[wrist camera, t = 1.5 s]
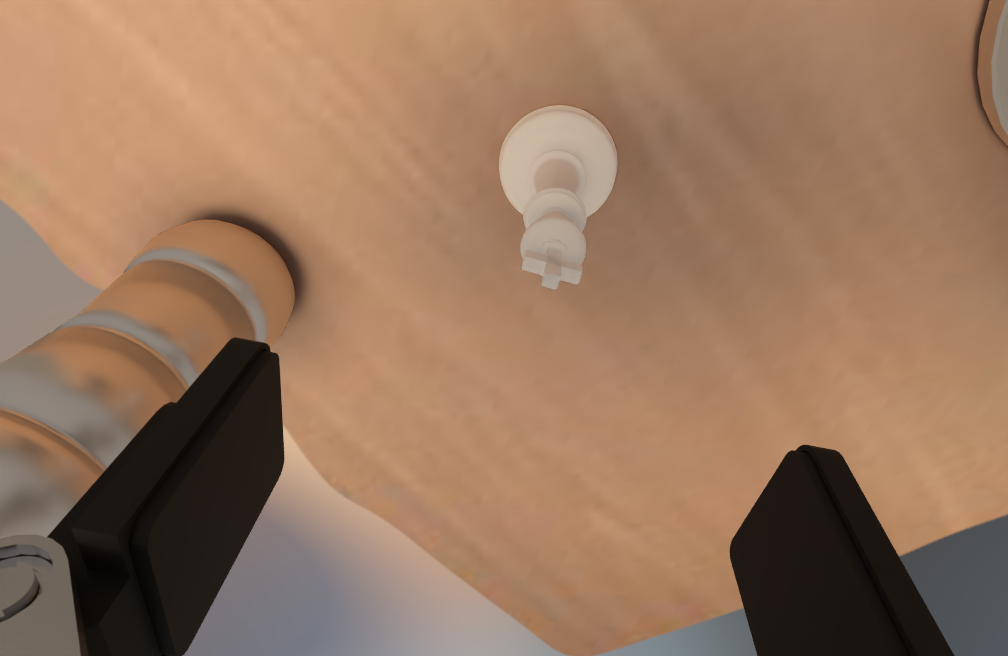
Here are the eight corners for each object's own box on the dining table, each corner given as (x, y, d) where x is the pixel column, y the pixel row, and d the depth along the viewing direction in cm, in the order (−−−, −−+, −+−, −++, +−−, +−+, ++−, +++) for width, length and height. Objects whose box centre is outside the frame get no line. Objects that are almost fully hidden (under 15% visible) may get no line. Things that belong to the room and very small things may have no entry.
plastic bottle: (275, 345, 31) (-69, 810, 14) (154, 270, 29) (-404, 707, 12) (332, 263, 28) (-21, 736, 11) (202, 174, 26) (-458, 583, 9)
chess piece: (515, 89, 23) (485, 172, 14) (635, 124, 23) (672, 225, 15) (487, 204, 25) (447, 329, 17) (594, 234, 26) (606, 371, 17)
